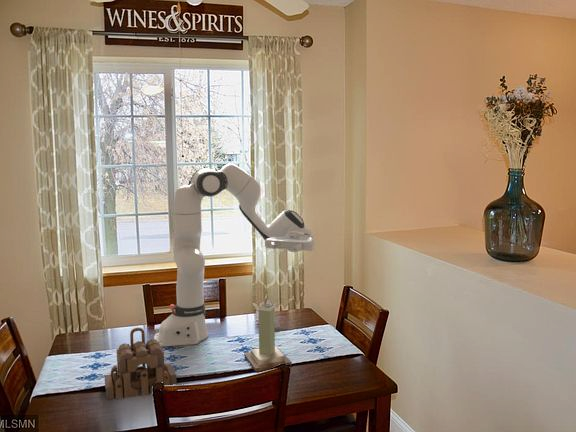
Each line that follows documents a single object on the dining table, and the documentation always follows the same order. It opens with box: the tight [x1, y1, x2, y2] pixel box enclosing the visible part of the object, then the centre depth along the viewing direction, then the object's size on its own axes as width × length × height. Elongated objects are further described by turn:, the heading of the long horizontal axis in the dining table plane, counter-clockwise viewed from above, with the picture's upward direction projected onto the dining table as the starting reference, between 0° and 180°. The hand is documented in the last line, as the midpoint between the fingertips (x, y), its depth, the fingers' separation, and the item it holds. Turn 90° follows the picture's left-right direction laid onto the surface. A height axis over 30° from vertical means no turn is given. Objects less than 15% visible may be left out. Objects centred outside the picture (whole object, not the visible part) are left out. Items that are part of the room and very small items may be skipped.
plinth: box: [243, 345, 293, 372], centre depth 184 cm, size 14×14×3 cm
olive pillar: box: [257, 303, 276, 356], centre depth 183 cm, size 5×5×18 cm
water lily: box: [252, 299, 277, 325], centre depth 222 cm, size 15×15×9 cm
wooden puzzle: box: [104, 327, 178, 400], centre depth 164 cm, size 22×15×19 cm, turn 114°
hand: (283, 247), depth 194 cm, fingers open, 8 cm apart
